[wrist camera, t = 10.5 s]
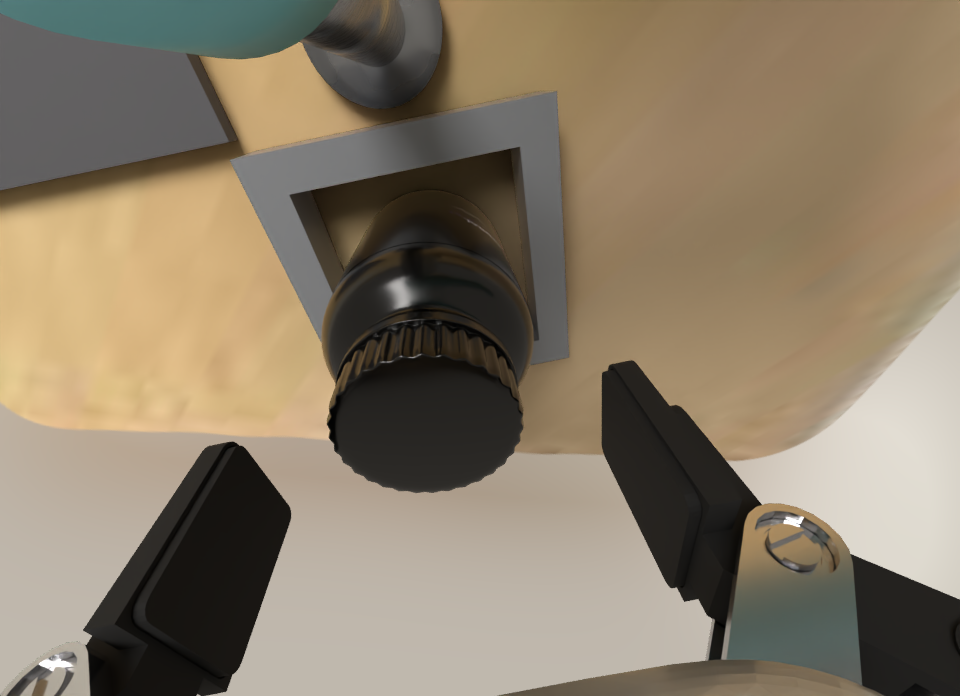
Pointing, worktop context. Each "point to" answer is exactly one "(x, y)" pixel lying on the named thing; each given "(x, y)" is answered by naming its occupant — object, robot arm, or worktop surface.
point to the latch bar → (179, 23)
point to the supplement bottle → (427, 348)
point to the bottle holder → (408, 145)
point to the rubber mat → (97, 104)
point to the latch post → (377, 49)
